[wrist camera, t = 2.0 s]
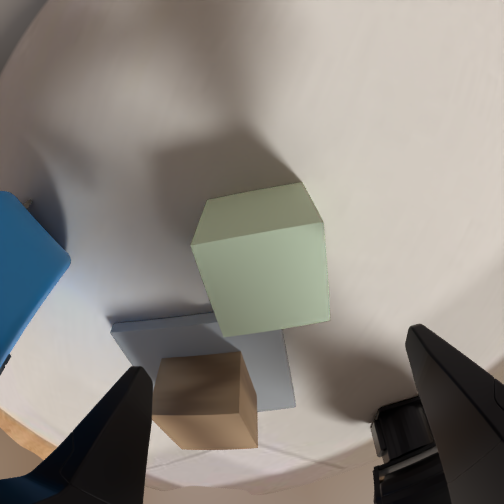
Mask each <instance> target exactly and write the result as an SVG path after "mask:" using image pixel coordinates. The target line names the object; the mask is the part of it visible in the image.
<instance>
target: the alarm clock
mask: <svg viewBox="0 0 504 504" xmlns="http://www.w3.org/2000/svg"><path fill="white" fill-rule="evenodd" d="M31 204H32V201H31V200H28V201H27V202H26V203H24V204H23V205H22V203H21V202H20V201H19V200H18V199H17V198H16V197H15V196H14V195H13V194H12V193H10V192H7V191H0V375H1V373H2V371H3V370H4V368H5V365H6V364H7V363H8V361H9V359H10V358H11V355H10V352H11V350H12V349H13V347H14V345H15V344H16V342H17V341H18V339H19V338H20V336H21V334H22V333H23V331H24V330H25V328H26V327H27V325H28V324H29V322H30V321H31V319H32V318H33V316H34V315H35V313H36V312H37V310H38V309H39V307H40V306H41V305H42V303H43V302H44V300H45V299H46V297H47V296H48V295H49V293H50V292H51V290H52V289H53V288H54V286H55V285H56V284H57V282H58V281H59V279H60V278H61V277H62V275H63V274H64V273H65V271H66V270H67V268H68V267H69V265H70V263H71V258H70V255H69V254H68V253H67V252H66V251H65V250H64V249H63V248H62V247H61V246H60V245H59V244H58V243H57V242H56V241H55V240H54V239H53V238H52V237H51V236H50V235H49V233H48V232H47V231H46V230H45V229H44V228H43V227H42V226H41V225H40V224H39V223H38V222H37V220H36V219H35V218H34V217H33V216H32V215H31V214H30V213H29V212H28V210H27V209H28V208H29V206H30V205H31Z"/></svg>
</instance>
